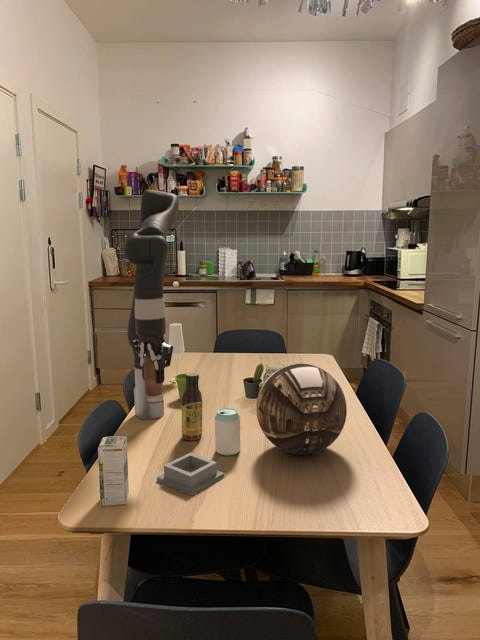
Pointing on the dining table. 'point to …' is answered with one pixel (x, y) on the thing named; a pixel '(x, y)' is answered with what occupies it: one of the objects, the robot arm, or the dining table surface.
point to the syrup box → (113, 470)
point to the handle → (151, 382)
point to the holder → (190, 473)
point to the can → (227, 431)
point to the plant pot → (181, 383)
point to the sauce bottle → (192, 408)
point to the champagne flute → (176, 343)
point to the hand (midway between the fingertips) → (153, 381)
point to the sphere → (301, 409)
